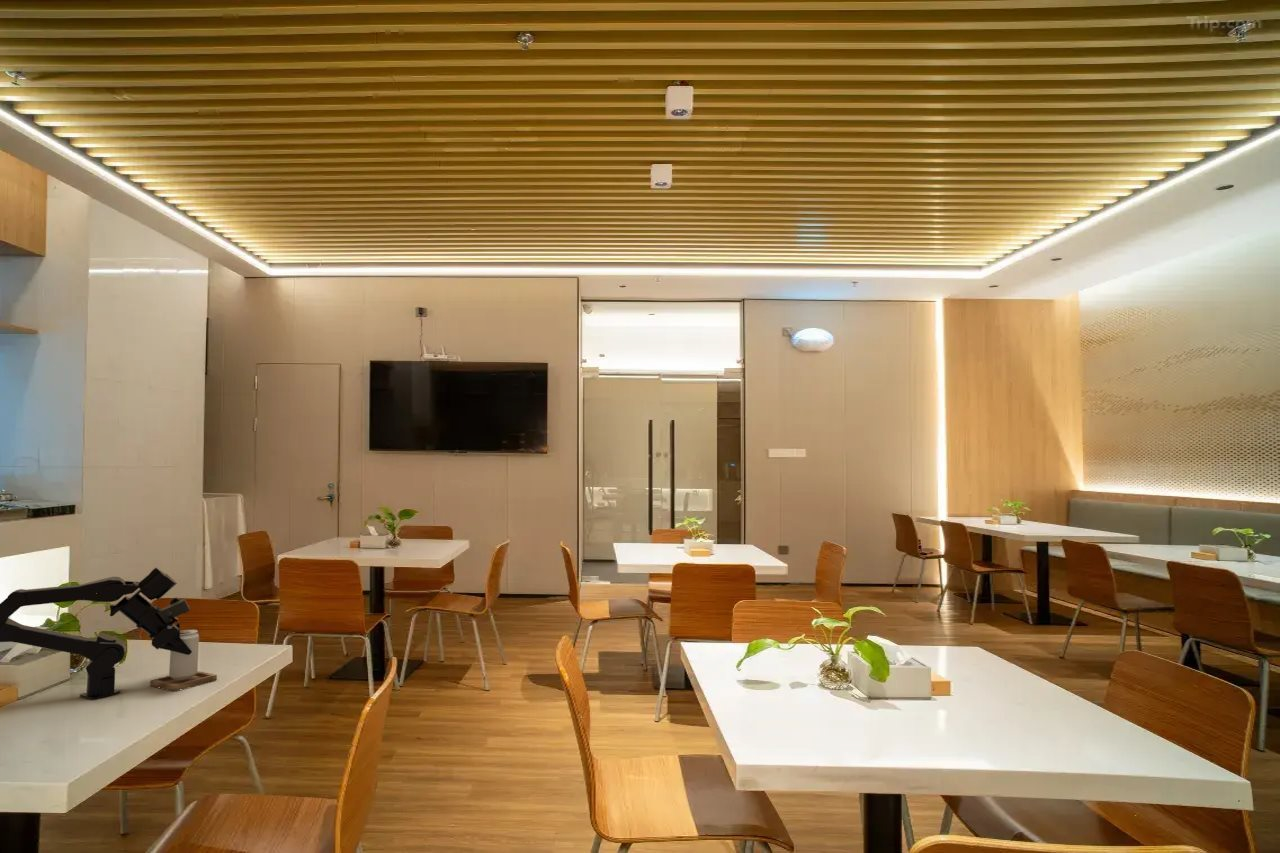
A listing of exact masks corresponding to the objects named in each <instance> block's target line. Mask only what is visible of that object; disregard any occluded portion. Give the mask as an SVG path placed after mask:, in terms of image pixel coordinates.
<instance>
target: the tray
mask: <svg viewBox="0 0 1280 853" xmlns="http://www.w3.org/2000/svg"><path fill="white" fill-rule="evenodd" d="M217 677H218V675H217V674H214V673H208V672H204V671H199V670H197V674H195V675H194V676H193V677H191V678H187V679H180V680H176V679H172V678H171V677H170V676H169V675H167V676H163V677H159V678H155V679H150V682H149V684H150V685H149V686H150V687H152V686H154V687H153V688H156V687H160V688H159V689H161V688H164V689H163V690H165V689H168V690H167V691H170V690H173V691H172V692H174V691H176V690H179V691H181V690H180V689H183V690H185V689H184V688H187V689H189V688H188V687H191V688H194V687H198V686H201V684H202V685H205V683H206V684H209V683H213V682H216V680H218V678H217ZM212 681H213V682H212ZM208 682H209V683H208ZM197 685H198V686H197ZM193 686H194V687H193ZM176 692H177V691H176Z"/></svg>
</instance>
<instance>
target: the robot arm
mask: <svg viewBox="0 0 1280 853" xmlns="http://www.w3.org/2000/svg"><path fill="white" fill-rule="evenodd" d="M177 584H178V583H177V581H176V580H175V579H173V578H172V577H171V576H170V575H169V574H167V573H165V572H163V571H162V570H161V569H159V568H158V567H154V568H153V569H152V570H151V571H150V572H149V574H148V575H145V577H144V578H143V579H141V580H139V581H135V580H134V581H130V580H124V579H123V578H121V577H120V576H110V577H105V578H101V579H97V580H94V581H93V580H92V581H90V582H86V583H81V584H71V585H70V584H69V585H61V586H60V585H59V586H52V587H39V588H29V589H23V588H21V589H20V588H19V589H16V590H14V591H12V592H10V593H9V594H8V596H7V598H5V599H4V600H3V601H1V602H0V643H17V644H22V645H27V646H33V647H37V648H42V649H43V648H44V649H49V650H54V651H58V652H64V653H69V654H74V655H78V656H82V657H83V658H86V660H89V661H88V663H87V665H86V666H85V670H86V673H87V675H86V678H87V679H86V692H85V693H80V694H79V697H81V698H85V699H90V700H96V699H101V698H104V697H109V696H112V695H116V694H120V693H122V690H120V689H116V686H115V685H116V667H115V665H116V664H119V663H120V662H121V661H122V660H123V658H124V657H125V654H126V651H127V644H126V643H125V641H124V640H123V639H121V638H119V636H118V635H111V634H110V635H109V634H107V633H105V632H99V634H98V635H97V637H84V636H79V635H75V634H71V633H70V634H69V633H64V632H60V631H54V630H50V629H44V628H39V627H34V626H30V625H24V624H22V623H19V622H18V621H16V620H13V619H12V618H10V617H11V616H12V615H13V614H14V613H15V612H16V611H18V609H20V608H22V607H29V606H37V605H38V606H39V605H47V604H55V603H65V602H75V601H86V602H87V601H88V602H96V603H97V602H102V603H104V602H106V603H111V602H116V601H118V600H119V601H118V602H117V603H115V604H114V603H113V604H112V603H111V604H110V605H109V609H110V613H109V616H110V617H113V616H115V615H116V614H117V613H118V612H120V614H122V615H124V616H125V617H126V618H127V619H128V620H130V621H131V622H133V624H135V626H136V627H137V628H138V629H141V630H143V631H144V632H145V633H146V634H148V637H149V638H151V646H152V647H153V648H155V649H156V650H161V649H162V650H167V651H169V652H170V651H174V652H178V653H182V654H186V655H189V654H191V653H192V651H191V650H190V648H189V647H188V646H187V645H186V644H185V642H184V641H183V640H182V639H181V638H180V631H181V629H180V625H181V624H180V622H179V618H178V616H180V615H182V614H186V613H189V612H190V611H191V609H190V606H189V604H188V602H187V601H186V598H179V597H173V598H171V599H170V603H169V605H166V606H165V607H163V608H161V607H160V606H155V605H154V604H153V603H151V601H153V600H155V599H156V600H161V598H163V597H164V596H165V595H166V594H167V593H168V592H169V591H170V590H172V589H173V588H174V587H175V586H176V585H177ZM138 589H139V590H138ZM96 593H97V594H96ZM133 593H134V594H133ZM131 594H132V595H131ZM141 594H142V595H143V596H144V597H143V596H142V595H141ZM126 595H130V596H126ZM123 596H124V597H123ZM122 597H123V598H122ZM145 597H146V598H145ZM121 598H122V599H121ZM147 599H148V600H149V601H148V600H147ZM174 623H176V624H174Z"/></svg>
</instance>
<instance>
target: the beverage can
mask: <svg viewBox="0 0 1280 853" xmlns="http://www.w3.org/2000/svg"><path fill="white" fill-rule="evenodd" d="M180 638H181V639H182V640H183V641H184V642H185V644H186V645H187V646H188V647H189V648H190V650H191V651H192V653H191V654H189V655H186V654H182V653H178V652H174V651H170V650H169V652H170V653H169V672H168V676H170V677H171V678H172V679H176V680H180V679H187V678H191V677H193V676H194V675H195V674H197V671H198V668H199V667H198V663H199V643H200V635H199V633H198V630H197V629H182V630H180Z"/></svg>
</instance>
